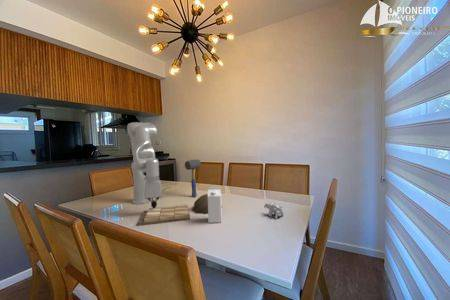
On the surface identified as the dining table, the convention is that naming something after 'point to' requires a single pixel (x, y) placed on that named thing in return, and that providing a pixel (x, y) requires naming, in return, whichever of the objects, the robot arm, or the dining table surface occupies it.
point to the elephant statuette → (274, 209)
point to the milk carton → (214, 205)
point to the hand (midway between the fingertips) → (154, 207)
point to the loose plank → (154, 211)
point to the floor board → (166, 215)
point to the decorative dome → (201, 205)
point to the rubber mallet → (193, 173)
